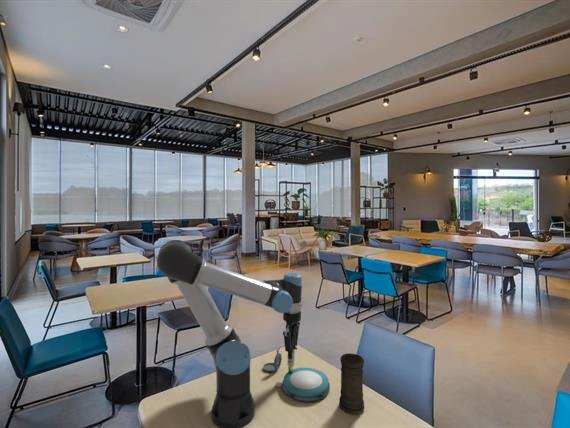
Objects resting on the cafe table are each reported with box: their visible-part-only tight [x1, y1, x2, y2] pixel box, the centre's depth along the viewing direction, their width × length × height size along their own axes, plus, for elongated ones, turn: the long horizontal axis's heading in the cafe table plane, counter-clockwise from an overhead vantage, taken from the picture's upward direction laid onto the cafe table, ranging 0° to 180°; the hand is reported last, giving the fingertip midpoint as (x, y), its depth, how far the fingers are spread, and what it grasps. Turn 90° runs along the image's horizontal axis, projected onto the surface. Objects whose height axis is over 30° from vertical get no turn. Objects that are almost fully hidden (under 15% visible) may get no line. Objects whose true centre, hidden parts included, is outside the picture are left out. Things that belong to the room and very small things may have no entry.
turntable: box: [283, 361, 329, 397], centre depth 124 cm, size 18×18×6 cm
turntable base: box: [275, 379, 331, 404], centre depth 124 cm, size 22×19×2 cm
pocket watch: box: [262, 347, 282, 373], centre depth 137 cm, size 8×8×10 cm
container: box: [338, 352, 365, 416], centre depth 112 cm, size 9×9×18 cm
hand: (290, 364), depth 131 cm, fingers closed
